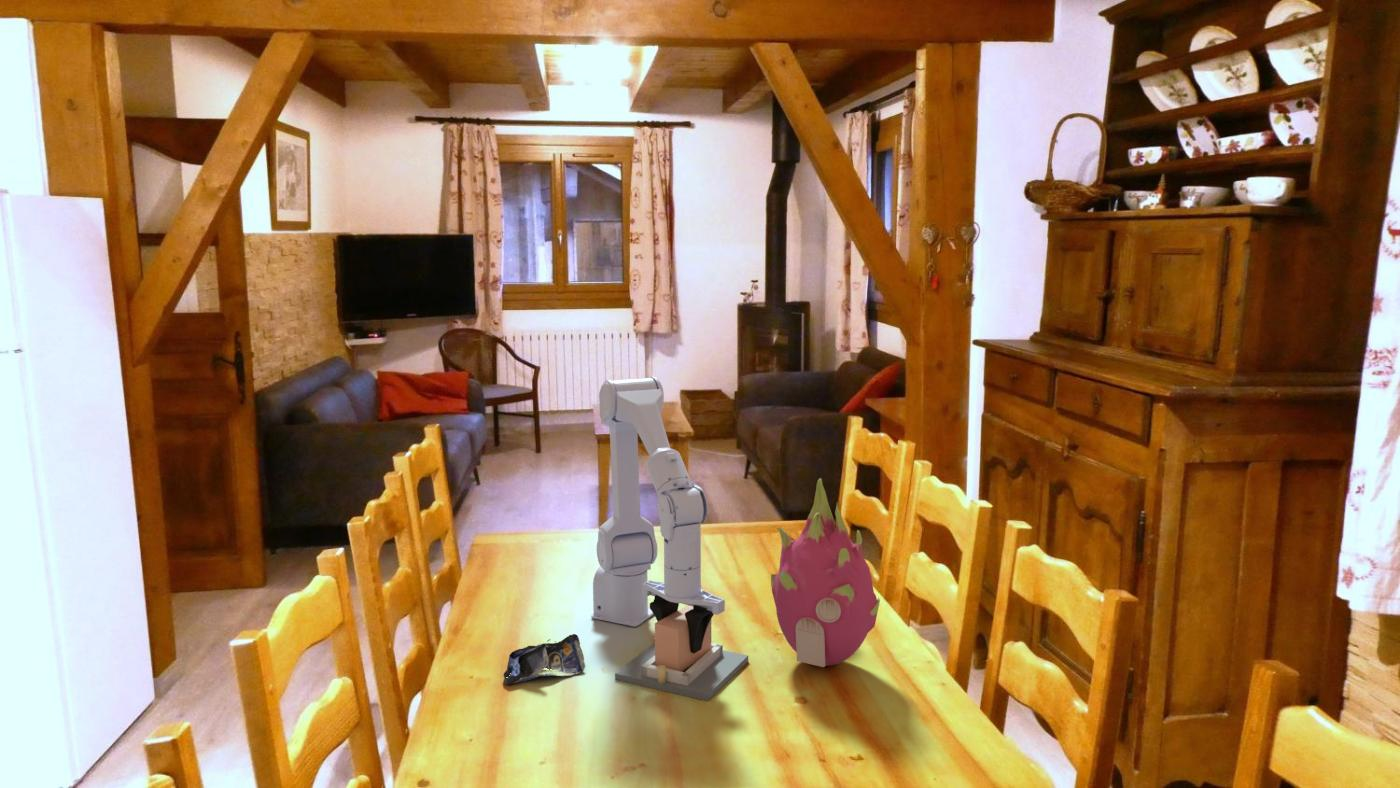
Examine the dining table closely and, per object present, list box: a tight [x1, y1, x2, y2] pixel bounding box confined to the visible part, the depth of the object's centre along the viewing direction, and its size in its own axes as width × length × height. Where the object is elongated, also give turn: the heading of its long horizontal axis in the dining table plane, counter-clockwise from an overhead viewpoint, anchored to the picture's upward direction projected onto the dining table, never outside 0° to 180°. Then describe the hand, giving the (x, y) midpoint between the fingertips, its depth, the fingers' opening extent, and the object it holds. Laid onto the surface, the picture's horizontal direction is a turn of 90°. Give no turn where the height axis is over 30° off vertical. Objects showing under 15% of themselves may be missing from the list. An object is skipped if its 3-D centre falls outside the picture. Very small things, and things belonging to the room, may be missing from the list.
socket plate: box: [614, 642, 749, 702], centre depth 152 cm, size 16×15×4 cm
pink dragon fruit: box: [770, 477, 881, 668], centre depth 152 cm, size 18×14×30 cm
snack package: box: [503, 633, 586, 686], centre depth 151 cm, size 12×7×12 cm
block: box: [654, 605, 712, 671], centre depth 152 cm, size 9×4×7 cm, turn 145°
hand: (682, 646), depth 152 cm, fingers closed on block, 4 cm apart
